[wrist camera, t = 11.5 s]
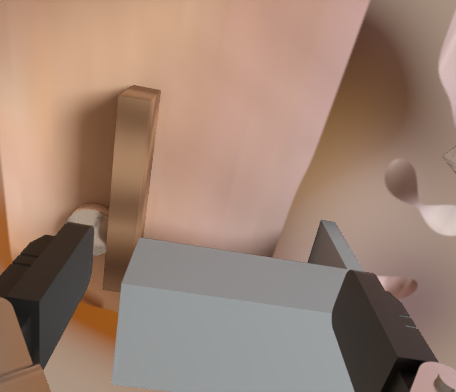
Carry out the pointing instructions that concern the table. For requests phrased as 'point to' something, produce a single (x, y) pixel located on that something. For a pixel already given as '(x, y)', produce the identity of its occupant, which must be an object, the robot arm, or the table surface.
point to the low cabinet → (232, 319)
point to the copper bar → (130, 179)
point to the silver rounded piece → (93, 223)
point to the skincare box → (451, 158)
